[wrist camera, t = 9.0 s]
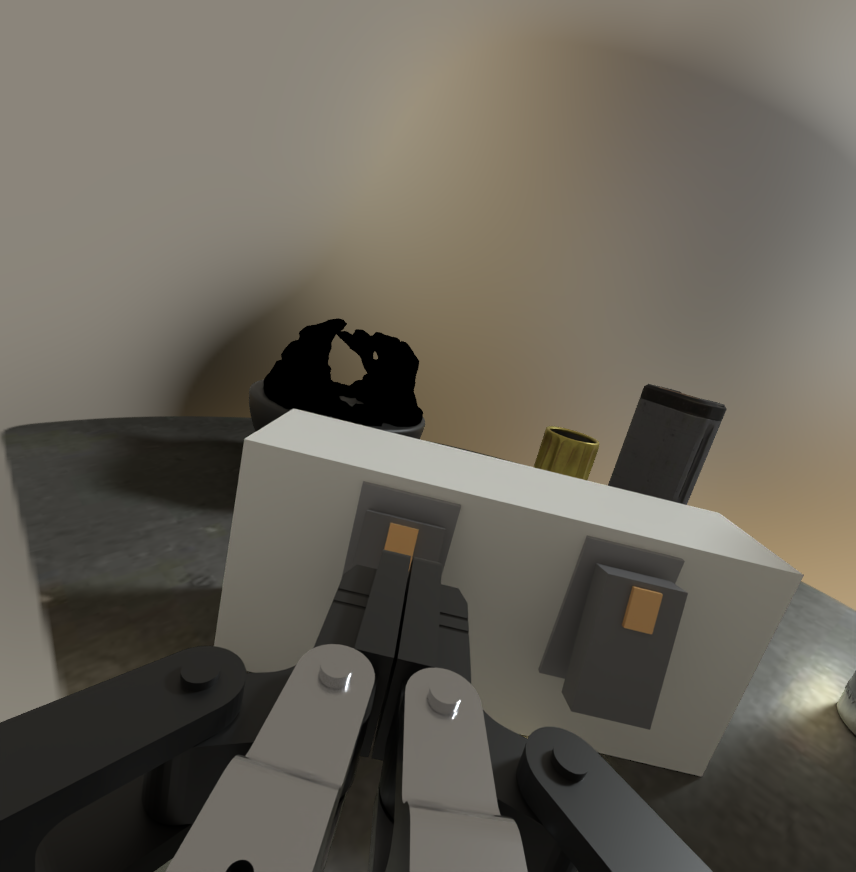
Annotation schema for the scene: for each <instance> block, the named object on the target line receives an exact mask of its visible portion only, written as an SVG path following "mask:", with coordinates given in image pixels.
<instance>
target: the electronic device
mask: <svg viewBox="0 0 856 872" xmlns="http://www.w3.org/2000/svg"><path fill="white" fill-rule="evenodd" d="M725 411H726V407H725V405H723V404H720V403H717V402H713V401H709V400H704V399H700V398H696V397H693V396H690V395H686V394H682V393H681V392H679V391H675V390H672V389H668V388H664V387H660V386H655V385H651V384H648V385H646V386H644V388H643V391H642V394H641V398H640V400H639V402H638V405H637V408H636V410H635V413H634V416H633V419H632V422H631V425H630V427H629V430H628V432H627V436H626V438H625V440H624V443H623V446H622V449H621V451H620V454H619V457H618V460H617V462H616V465H615V468H614V471H613V473H612V476H611V479H610V481H609V484H608V486H611V487H615V488H619V489H623V490H627V491H632V492H636V493H640V494H644V495H648V496H652V497H656V498H660V499H664V500H668V501H672V502H676V503H680V504H684V505H687V503H688V500H689V498H690V495H691V493H692V491H693V488H694V486H695V484H696V481H697V479H698V476H699V474H700V472H701V469H702V467H703V464H704V462H705V460H706V457H707V455H708V452H709V450H710V448H711V445H712V443H713V440H714V438H715V435H716V433H717V431H718V428H719V426H720V423H721V421H722V419H723V416H724V414H725Z"/></svg>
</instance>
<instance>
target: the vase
mask: <svg viewBox="0 0 856 872" xmlns="http://www.w3.org/2000/svg"><path fill="white" fill-rule="evenodd" d="M598 448H599V442H598V441H597V440H596V439H594V438H592V437H590V436H587V435H585V434H582V433H579V432H576V431H573V430H569V429H565V428H561V427H554V426H549V427H547V428H546V430H545V433H544V436H543V440H542V443H541V446H540V449H539V452H538V455H537V458H536V461H535V464H534V468H538V469H542V470H546V471H550V472H554V473H558V474H562V475H566V476H570V477H575V478H579V479H583V480H587V479H588V477H589V474H590V471H591V468H592V466H593V463H594V460H595V457H596V454H597V452H598Z"/></svg>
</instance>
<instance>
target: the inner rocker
mask: <svg viewBox="0 0 856 872" xmlns="http://www.w3.org/2000/svg"><path fill="white" fill-rule="evenodd" d="M687 595H688V593H687V592H686V591H684V590H683V589H681V588H680V587H679V586H677V585H676V584H674V583H673V582H671V581H668V580H664V579H660V578H656V577H651V576H647V575H643V574H639V573H635V572H631V571H627V570H623V569H618V568H614V567H610V566H606V565H602V564H598V563H596V565H595V568H594V572H593V576H592V580H591V583H590V587H589V591H588V595H587V598H586V602H585V606H584V610H583V613H582V617H581V621H580V625H579V628H578V632H577V636H576V640H575V643H574V647H573V651H572V655H571V658H570V662H569V666H568V669H567V673H566V677H565V681H564V684H563V688H562V694H563V696H564V698H565V700H566V702H567V704H568V706H569V708H570V710H571V711H572V712H576V713H580V714H585V715H589V716H593V717H597V718H602V719H606V720H610V721H614V722H619V723H623V724H627V725H632V726H636V727H640V728H644V729H649V730H650V728H651V725H652V721H653V718H654V714H655V710H656V707H657V703H658V700H659V696H660V692H661V689H662V685H663V682H664V678H665V674H666V671H667V667H668V664H669V660H670V656H671V653H672V649H673V646H674V642H675V638H676V635H677V631H678V628H679V624H680V620H681V617H682V613H683V610H684V606H685V602H686V599H687Z"/></svg>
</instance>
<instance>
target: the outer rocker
mask: <svg viewBox="0 0 856 872" xmlns="http://www.w3.org/2000/svg"><path fill="white" fill-rule="evenodd" d="M445 532H446V529H445V528H444V527H440V526H436V525H432V524H428V523H423V522H419V521H415V520H411V519H407V518H403V517H399V516H394V515H390V514H386V513H382V512H378V511H374V510H370V509H368V510H366V513H365V517H364V521H363V525H362V529H361V533H360V537H359V541H358V545H357V549H356V553H355V557H354V560H353V564H352V568H353V567H354V566H355V565H357V564H358V565H362V566H366V567H370V568H374V569H377V568H378V564H379V561H380V557H381V554H382V551H383V549H384V550H388V551H392V552H396V553H401V554H405V555H409V556H411V560H410V566H411V563H412V559H413V556H414V557H418V558H422V559H426V560H431V561H435V562H439V558H440V553H441V549H442V545H443V540H444V536H445ZM410 566H409V570H410ZM408 574H409V571H408ZM407 578H408V577H407Z"/></svg>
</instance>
